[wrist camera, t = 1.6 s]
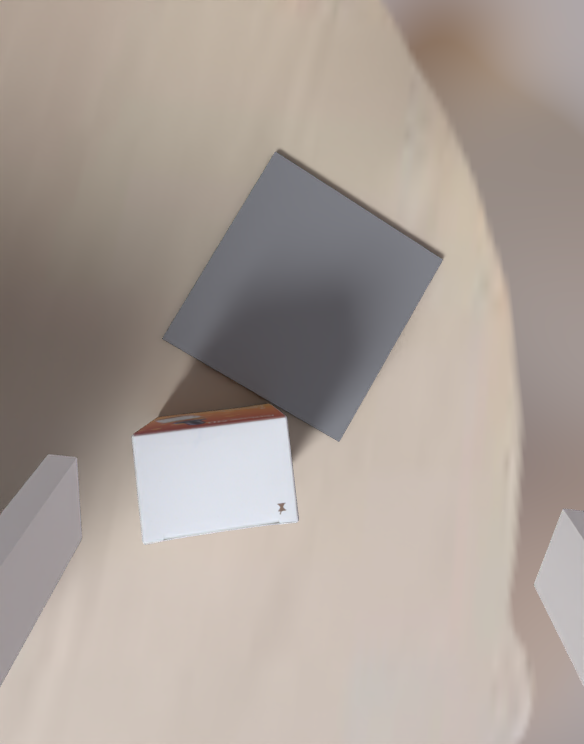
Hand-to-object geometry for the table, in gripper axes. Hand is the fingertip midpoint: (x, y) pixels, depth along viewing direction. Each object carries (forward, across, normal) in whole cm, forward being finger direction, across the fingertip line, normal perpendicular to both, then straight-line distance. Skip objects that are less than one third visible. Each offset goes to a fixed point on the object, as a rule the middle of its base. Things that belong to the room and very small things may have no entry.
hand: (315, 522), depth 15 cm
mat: (+25, 0, -1) cm, 25 cm away
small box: (+20, -5, -11) cm, 23 cm away
